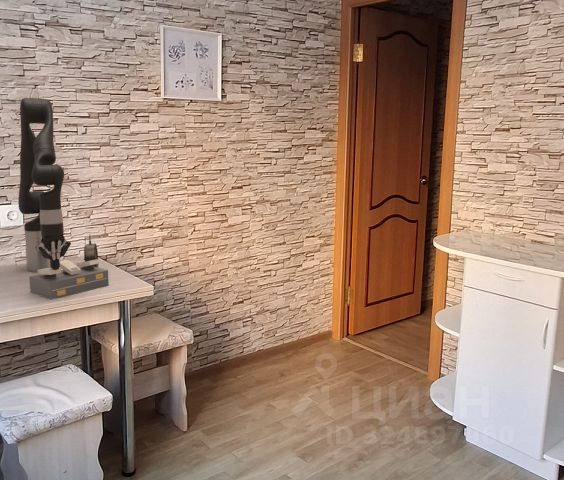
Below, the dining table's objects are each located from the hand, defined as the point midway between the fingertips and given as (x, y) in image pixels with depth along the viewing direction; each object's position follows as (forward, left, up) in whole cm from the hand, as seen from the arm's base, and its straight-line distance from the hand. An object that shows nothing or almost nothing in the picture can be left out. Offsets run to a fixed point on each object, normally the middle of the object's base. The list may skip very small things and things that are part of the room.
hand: (55, 269), depth 209 cm
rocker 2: (-4, +8, -1) cm, 9 cm away
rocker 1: (-4, 0, -1) cm, 4 cm away
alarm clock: (-20, +28, -10) cm, 36 cm away
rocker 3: (-4, +16, -1) cm, 17 cm away
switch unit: (-4, +8, -10) cm, 13 cm away
